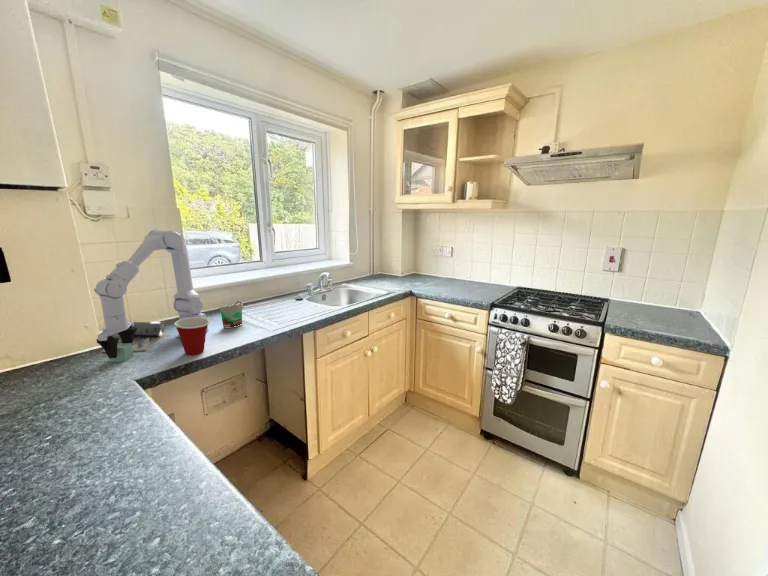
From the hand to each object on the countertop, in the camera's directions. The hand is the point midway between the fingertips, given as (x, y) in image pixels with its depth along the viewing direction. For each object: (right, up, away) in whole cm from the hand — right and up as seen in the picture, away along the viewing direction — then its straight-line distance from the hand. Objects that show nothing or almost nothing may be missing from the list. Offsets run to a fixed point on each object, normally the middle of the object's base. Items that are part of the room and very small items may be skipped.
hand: (120, 353), depth 108 cm
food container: (+22, +5, +37) cm, 44 cm away
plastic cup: (+21, -2, +7) cm, 23 cm away
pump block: (0, -2, +1) cm, 2 cm away
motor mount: (-5, +1, +14) cm, 15 cm away
